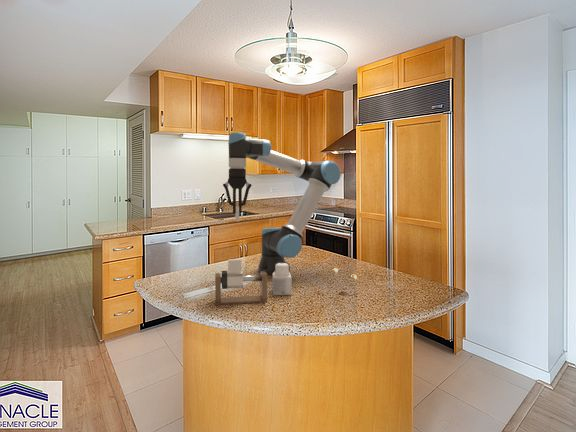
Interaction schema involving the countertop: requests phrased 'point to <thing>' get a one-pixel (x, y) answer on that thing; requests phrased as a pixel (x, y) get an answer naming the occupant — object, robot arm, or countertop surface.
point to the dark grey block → (224, 279)
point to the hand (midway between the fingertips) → (237, 220)
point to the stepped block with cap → (234, 274)
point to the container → (281, 279)
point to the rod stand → (242, 299)
